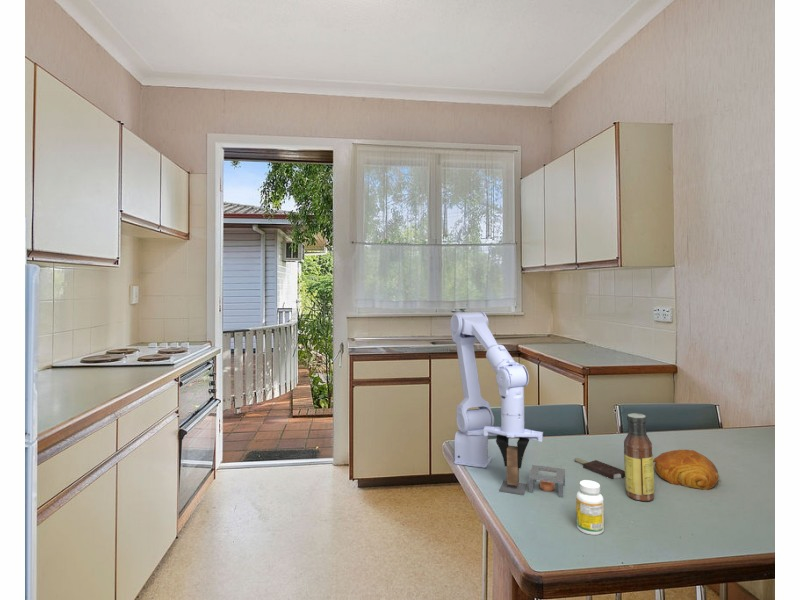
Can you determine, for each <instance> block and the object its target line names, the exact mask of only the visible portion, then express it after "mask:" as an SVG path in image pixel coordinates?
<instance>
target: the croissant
mask: <svg viewBox="0 0 800 600" xmlns="http://www.w3.org/2000/svg"><path fill="white" fill-rule="evenodd" d="M653 463H654V469H655V470H654V471H655V473H657V474H658V476H659V477H660V478H661V479H663V480H665V481H666V482H668V483H669V484H670V485H671V484H673V485H675V486H681V485H682V486H684V487H685V488H686V487H687V488H692V489H699V490H710V489H712V488H714V486H716V484H717V483H718V482H719V478H720V476H719V474H718V472H719V471H718V468H717V467H716V465H715V464H714V462H713V461H711V460H710V459H709V458H708V457H707V456H705V455H703V454H701V453H699V452H697V451H696V450H693V449H692V450H691V449H677V450H670V451H666V452H662V453H661V454H659V455H658V456H655V458H654V457H653Z"/></svg>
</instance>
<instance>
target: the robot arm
mask: <svg viewBox="0 0 800 600" xmlns="http://www.w3.org/2000/svg"><path fill="white" fill-rule="evenodd" d="M489 323H490V322H489V318H488V316H487V315H486V312H484V311H478V312H477V311H475V312H473V311H472V312H458V311H457V312H454V313H453V314H452V316H451V319H450V321H449V325H450V326H449V327H450V333H451V338H452V339H451V340H452V341H453V343H455V345H456V351H457V359H458V365H459V366H458V367H459V372H460V373H459V375H460V378H461V379H460V381H461V386H462V395H463V399H462V400H461V402H460V403H459V404H458V405H457V406H456V417H455V419H456V421H455V422H456V425H457V427H458V429H456V432H455V436H454V461H453V464H454V465H461V466H469V467H475V468H482V469H483V468H484V469H485V468H486V469H487V468H488V466H489V464H490V462H491V460H492V459H493V458H492V457H491V456H489V443H488V442H489V437H488V436H491V437H496V439H495V442H496V444H497V447H498V449H499V450H500V454H501V456H502V459H503V463H504V467H505V468H507V447H508V445H509V438H511V439H518V440H517V442H516V444H517V445H516V446H517V447H518V468H519V469H521V468H522V465H523V458H524V456H525V455H524V454H525V452H526V451H525V450H526V448H527V447H528V444H529V442H530V441H537V442H540V443H542V442H543V439H544V431H537V430H533V429H529V428H525V387H527V386H528V385H529V383H530V382H529V381H530V375H529V372H528V370H527V367H526V366H525V365H524V364H520V363H519V362H516V361H515V359H514V358H513V356H512V355H511V354H510V352H509V351H508V350H507V349H506V347H505V346H504V345H503V344H498V342H497V340H496V338H495V336H494V335H493V332H492V331H491V329H490V328H489ZM476 341H478V342H479V343H480V344H481V346H482V347H483V349H484V350H485V351H486V353H485V357H486V358H485V359H486V360H487V362H488V363H489V365H490V366H491V368H492V369H493V371H494V372H495V374H496V375H495V382H496V385H497V388H498V393H499V394H498V395H499V396H500V424H501V426H494V424H495V416H494V413H493V411H492V408H491V404H490V402H489V401H487V400H486V399H484V398H483V397H482V393H481V385H480V380H479V379H480V378H479V373H478V366H477V361H476V353H475V348H474V344H475V343H476ZM471 408H472V409H471ZM473 408H474V409H473Z"/></svg>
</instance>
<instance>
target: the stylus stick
mask: <svg viewBox="0 0 800 600" xmlns="http://www.w3.org/2000/svg"><path fill="white" fill-rule="evenodd" d="M506 481H507V484H510V485H516V486H518V483H520V468H518V447H517V445H510V444H508V447H507V467H506Z"/></svg>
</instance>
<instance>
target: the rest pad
mask: <svg viewBox="0 0 800 600" xmlns="http://www.w3.org/2000/svg"><path fill="white" fill-rule="evenodd" d="M527 487H528V483H524V482H519V483H518V486H516V485H510V484H507V480H505V479H504V480H503V481H502V483H501V485H500V487H499V488H498V491H499V492H501V493H506V492H507V493H509V494H514V495H520V496H524V495H525V493H526V489H527Z"/></svg>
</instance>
